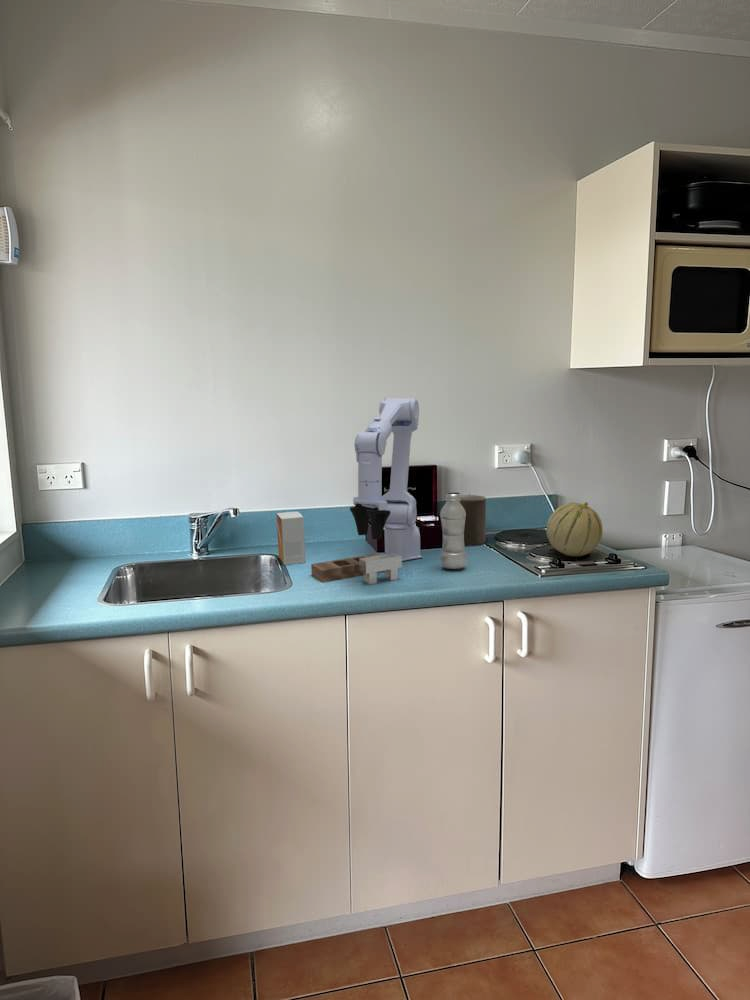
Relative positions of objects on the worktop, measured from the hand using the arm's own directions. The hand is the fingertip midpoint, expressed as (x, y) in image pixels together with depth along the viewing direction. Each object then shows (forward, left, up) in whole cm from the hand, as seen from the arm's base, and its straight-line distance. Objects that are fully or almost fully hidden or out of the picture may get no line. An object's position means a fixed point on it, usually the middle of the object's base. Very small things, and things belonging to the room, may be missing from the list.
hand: (369, 536), depth 172 cm
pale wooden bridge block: (-3, 0, -11) cm, 12 cm away
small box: (+9, -30, -12) cm, 33 cm away
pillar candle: (-44, -20, -12) cm, 49 cm away
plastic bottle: (-24, +1, -12) cm, 26 cm away
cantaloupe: (-59, +8, -12) cm, 60 cm away
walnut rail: (0, -10, -11) cm, 15 cm away
